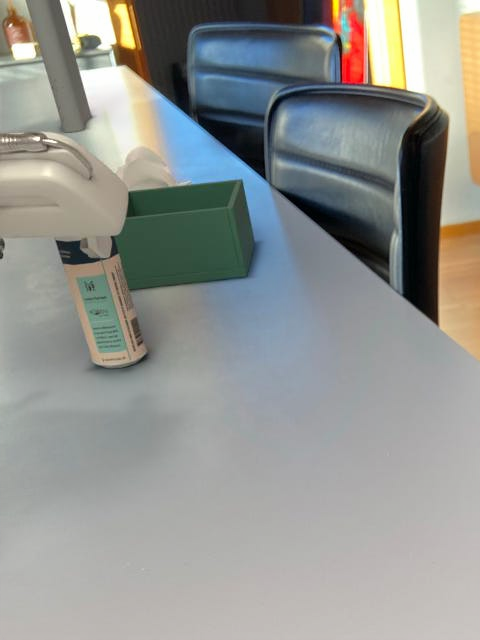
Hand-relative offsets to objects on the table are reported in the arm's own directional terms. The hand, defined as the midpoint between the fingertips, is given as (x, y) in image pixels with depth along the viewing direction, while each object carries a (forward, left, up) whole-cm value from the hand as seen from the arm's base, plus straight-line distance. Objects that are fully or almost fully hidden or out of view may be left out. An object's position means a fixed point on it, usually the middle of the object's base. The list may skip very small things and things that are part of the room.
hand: (48, 250), depth 80 cm
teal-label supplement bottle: (+2, +5, -11) cm, 12 cm away
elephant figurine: (-2, +51, -11) cm, 52 cm away
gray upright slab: (-30, +142, -11) cm, 145 cm away
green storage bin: (+5, +33, -11) cm, 35 cm away
